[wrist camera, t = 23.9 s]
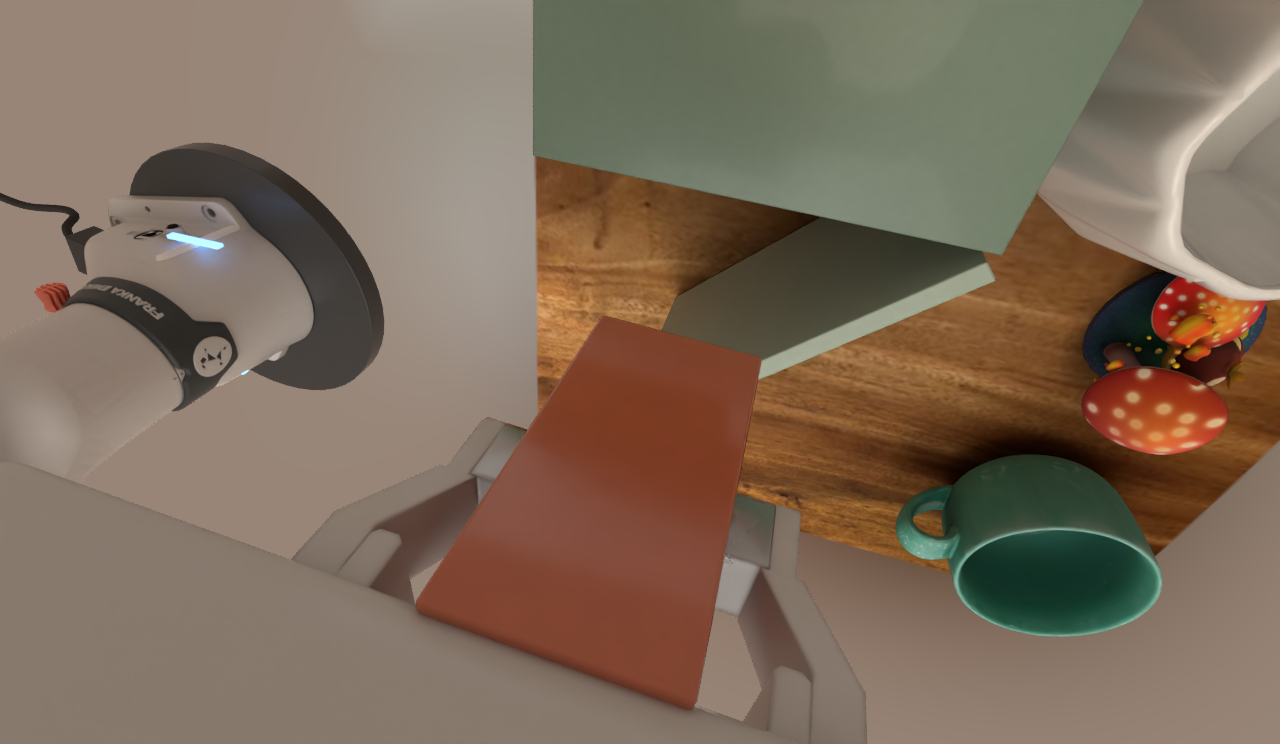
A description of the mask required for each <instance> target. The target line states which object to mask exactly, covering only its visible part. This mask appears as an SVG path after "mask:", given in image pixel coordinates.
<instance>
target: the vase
mask: <svg viewBox="0 0 1280 744" xmlns="http://www.w3.org/2000/svg"><path fill="white" fill-rule="evenodd" d="M1037 193H1038V195H1039V196H1040V197H1041V198H1042V199H1043V200H1044V201H1045V202H1046V203H1047V204H1048V205H1049V206H1050V207H1051V208H1052V209H1053V210H1054V211H1055V212H1056V213H1057V214H1058V215H1059V216H1060V217H1061V218H1062V219H1063V220H1064V221H1065V222H1066V223H1067V224H1068V225H1069V226H1070V227H1071V228H1072V229H1073V230H1074V231H1075V232H1076V233H1077V234H1079V235H1080V236H1082V237H1083V238H1086V239H1088V240H1090V241H1093V242H1095V243H1097V244H1100V245H1102V246H1104V247H1107V248H1109V249H1112V250H1114V251H1117V252H1119V253H1121V254H1124V255H1126V256H1129V257H1131V258H1134V259H1136V260H1139V261H1141V262H1144V263H1146V264H1149V265H1151V266H1154V267H1156V268H1159V269H1161V270H1164V271H1166V272H1169V273H1171V274H1174V275H1177V276H1180V277H1183V278H1185V279H1188V280H1191V281H1193V282H1195V283H1197V284H1199V285H1201V286H1203V287H1204V288H1206V289H1208V290H1210V291H1212V292H1214V293H1217V294H1219V295H1221V296H1224V297H1227V298H1230V299H1235V300H1243V301H1265V300H1278V299H1280V0H1144V2H1143V4H1142V6H1141V7H1140V9H1139V11H1138V13H1137V15H1136V16H1135V18H1134V20H1133V22H1132V23H1131V25H1130V27H1129V29H1128V31H1127V32H1126V34H1125V36H1124V38H1123V40H1122V41H1121V43H1120V45H1119V47H1118V49H1117V50H1116V52H1115V54H1114V56H1113V57H1112V59H1111V61H1110V63H1109V65H1108V66H1107V68H1106V70H1105V72H1104V74H1103V75H1102V77H1101V79H1100V81H1099V83H1098V84H1097V86H1096V88H1095V90H1094V91H1093V93H1092V95H1091V97H1090V99H1089V100H1088V102H1087V104H1086V106H1085V108H1084V109H1083V111H1082V113H1081V115H1080V117H1079V118H1078V120H1077V122H1076V124H1075V125H1074V127H1073V129H1072V131H1071V133H1070V134H1069V136H1068V138H1067V140H1066V142H1065V143H1064V145H1063V147H1062V149H1061V151H1060V152H1059V154H1058V156H1057V158H1056V160H1055V161H1054V163H1053V165H1052V167H1051V168H1050V170H1049V172H1048V174H1047V176H1046V177H1045V179H1044V181H1043V183H1042V185H1041V186H1040V188H1039V190H1038V192H1037Z"/></svg>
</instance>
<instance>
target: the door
mask: <svg viewBox="0 0 1280 744" xmlns="http://www.w3.org/2000/svg"><path fill="white" fill-rule="evenodd" d="M994 281H995V276H994V274H993V272H992V270H991V268H990V266H989V264H988V262H987V260H986V258H985V256H984V254H983V252H982V251H978V250H974V249H969V248H964V247H959V246H955V245H950V244H945V243H941V242H936V241H931V240H927V239H922V238H917V237H913V236H908V235H903V234H899V233H894V232H889V231H885V230H880V229H875V228H871V227H866V226H861V225H857V224H852V223H847V222H842V221H838V220H833V219H828V218H824V217H820V218H818V219H816V220H814V221H813V222H811V223H809V224H807V225H805V226H804V227H802V228H800V229H798V230H796V231H795V232H793V233H791V234H789V235H787V236H786V237H784V238H782V239H780V240H778V241H777V242H775V243H773V244H771V245H769V246H768V247H766V248H764V249H762V250H760V251H759V252H757V253H755V254H753V255H751V256H749V257H748V258H746V259H744V260H742V261H740V262H739V263H737V264H735V265H733V266H731V267H730V268H728V269H726V270H724V271H722V272H721V273H719V274H717V275H715V276H713V277H712V278H710V279H708V280H706V281H704V282H703V283H701V284H699V285H697V286H695V287H694V288H692V289H690V290H688V291H686V292H685V293H683V294H681V295H679V296H677V297H676V299H675V301H674V303H673V305H672V308H671V310H670V312H669V314H668V317H667V319H666V321H665V323H664V326H663V328H662V330H661V331H665V332H668V333H672V334H676V335H680V336H683V337H687V338H691V339H695V340H698V341H702V342H706V343H710V344H713V345H717V346H721V347H725V348H728V349H732V350H736V351H740V352H743V353H747V354H751V355H755V356H758V357H760V358H761V360H762V362H761V368H760V373H759V378H758V380H759V379H762V378H764V377H767V376H769V375H771V374H774V373H776V372H779V371H781V370H783V369H786V368H788V367H791V366H793V365H795V364H798V363H800V362H802V361H805V360H807V359H810V358H812V357H814V356H817V355H819V354H822V353H824V352H826V351H829V350H831V349H834V348H836V347H838V346H841V345H843V344H845V343H848V342H850V341H853V340H855V339H857V338H860V337H862V336H865V335H867V334H869V333H872V332H874V331H877V330H879V329H881V328H884V327H886V326H889V325H891V324H893V323H896V322H898V321H900V320H903V319H905V318H908V317H910V316H912V315H915V314H917V313H920V312H922V311H924V310H927V309H929V308H932V307H934V306H936V305H939V304H941V303H943V302H946V301H948V300H951V299H953V298H955V297H958V296H960V295H963V294H965V293H967V292H970V291H972V290H975V289H977V288H979V287H982V286H984V285H987V284H989V283H991V282H994Z"/></svg>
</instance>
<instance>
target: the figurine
mask: <svg viewBox="0 0 1280 744" xmlns="http://www.w3.org/2000/svg"><path fill="white" fill-rule="evenodd" d="M1265 304H1266V300H1265V301H1243V300H1235V299H1230V298H1227V297H1224V296H1221V295H1219V294H1217V293H1214V292H1212V291H1210V290H1208V289H1206V288H1204V287H1203V286H1201V285H1199V284H1197V283H1195V282H1193V281H1191V280H1188V279H1185V278H1183V277H1180V276H1177V275H1174V274H1171V273H1169V272H1163V273H1158V274H1154V275H1151V276H1149V277H1147V278H1144V279H1142V280H1140V281H1138V282H1136V283H1134V284H1132V285H1131V286H1129V287H1127V288H1126V289H1124V290H1122V291H1121V292H1120V293H1118V294H1117V295H1116V296H1115V297H1113V298H1112V299H1111V300H1109V301H1108V302H1107V303H1106V304H1105V305H1104V307H1103V308H1102V309H1101V310H1100V311H1099V312H1098V313H1097V314H1096V316H1095V317H1094V319H1093V320H1092V322H1091V323H1090V325H1089V327H1088V329H1087V331H1086V334H1085V337H1084V342H1083V356H1084V358H1085V360H1086V361H1087V363H1088V364H1089V366H1090V368H1091V369H1092V370H1093V371H1095V372H1096V373H1097V374H1098V375H1099V376H1100V377H1101V378H1100V379H1099V378H1095V379H1094V380H1093V382H1094V383H1093V384H1092V385H1091V386H1090V387H1089V388H1088V389H1087V391H1086V393H1085V395H1084V396H1083V400H1082V404H1081V405H1082V411H1083V414H1084V416H1085V418H1086V420H1087V421H1088V422H1089V424H1090V425H1091V426H1092V427H1093V428H1094V429H1095V430H1097V431H1098V432H1099V433H1101V434H1102V435H1103V436H1105V437H1106V438H1108V439H1110V440H1111V441H1113V442H1115V443H1117V444H1120V445H1122V446H1124V447H1126V448H1129V449H1133V450H1136V451H1139V452H1144V453H1149V454H1175V453H1180V452H1185V451H1188V450H1192V449H1195V448H1197V447H1199V446H1201V445H1203V444H1205V443H1208V442H1209V441H1210V440H1212V439H1213V438H1215V437H1216V436H1217V435H1218V434H1219V433H1220V432H1221V431H1222V430H1223V428H1224V427H1225V425H1226V422H1227V420H1228V408H1227V406H1226V404H1225V401H1224V400H1223V399H1222V397H1221V396H1220V395H1219V394H1218V393H1217V392H1216V391H1215V390H1213V389H1212V388H1211V386H1214V385H1217V384H1219V383H1221V382H1223V381H1225V380H1226V379H1227V386H1228V389H1229V390H1230V379H1231V380H1232V381H1235V382H1240V381H1244V380H1245V377H1244V375H1243V374H1242V373H1240V372H1235V371H1237V370H1238V369H1239V368H1240V366H1241V365H1242V363H1243V361H1241V362H1240V360H1241V357H1242V356H1243V355H1244V354H1245V352H1246V351H1247V350H1248V349H1249V348H1250V347H1251V346H1252V345H1253V344H1254V342H1255V341H1256V339H1257V338H1258V336H1259V335H1260V333H1261V331H1262V328H1263V326H1264V323H1265V320H1266V311H1267V307H1266V305H1265Z"/></svg>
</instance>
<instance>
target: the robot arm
mask: <svg viewBox="0 0 1280 744" xmlns="http://www.w3.org/2000/svg"><path fill="white" fill-rule="evenodd" d="M0 201H3V202H5V203H8V204H11V205H13V206H16V207H20V208H23V209H28V210H35V211H47V212H62V213H66V214H69V215H70V216H69V217H68V219H66V221H65V222H64V223H63V225H62V232H63V234H64V236H65V238H66V240H67V243H68V245H69V248H70V250H71V253H72V255H73V258H74V260H75V263H76V265H77V268H78V270H79V271H80V272H82V273H84V274H87V276H88V283H87V284H86V285H85V286H84V287H82V288H81V289H80V290H79V291H78V292H76V293H75V294H74V295H73V296H72V297H70V295H69V291H68V289H67V287H66V285H65V284H62V283H53V284H46V286H44V285H42V286H41V287H40V288H37V289H36V290H37V291H35V294H36V295H37V296H38V298H39V299H40V300H41V301H42V302H43V303H44V307H45V309H46V310H47V311H49V312H54V313H52V314H50V315H48V316H45V317H43V318H41V319H39V320H37V321H35V322H33V323H30V324H28V325H26V326H24V327H22V328H20V329H18V330H16V331H13V332H11V333H9V334H7V335H5V336H3V337H0V744H867V725H866V694H865V691H864V689H863V687H862V686H861V684H860V682H859V680H858V678H857V677H856V675H855V673H854V671H853V669H852V667H851V666H850V664H849V662H848V660H847V658H846V657H845V655H844V653H843V651H842V649H841V648H840V646H839V644H838V642H837V640H836V639H835V637H834V635H833V633H832V631H831V629H830V628H829V626H828V624H827V622H826V620H825V619H824V617H823V615H822V613H821V611H820V610H819V608H818V606H817V604H816V602H815V601H814V599H813V597H812V595H811V593H810V592H809V590H808V588H807V586H806V584H805V583H804V581H802V580H799V579H797V565H798V564H797V563H798V550H799V549H798V548H799V534H800V520H801V515H800V513H799V511H796V510H793V509H789V508H786V507H782V506H779V505H774V504H773V503H770V502H766V501H763V500H759V499H756V498H752V497H749V496H746V495H742V494H739V493H737V494H736V499H735V505H734V510H733V515H732V520H731V526H730V531H729V536H728V541H727V547H726V552H725V557H724V562H723V568H722V573H721V578H720V584H719V589H718V594H717V599H716V605H715V610H719V611H721V612H724V613H727V614H729V615H732V616H735V617H738V622H739V625H740V628H741V631H742V634H743V637H744V639H745V642H746V645H747V648H748V651H749V654H750V656H751V659H752V662H753V665H754V668H755V671H756V674H757V676H758V679H759V682H760V685H761V688H762V691H761V693H760V694H759V696H758V698H757V699H756V701H755V702H754V704H753V706H752V708H751V709H750V711H749V712H748V714H747V716H746V717H745V719H744V721H743V722H742V721H739V720H736V719H733V718H730V717H728V716H725V715H722V714H720V713H717V712H714V711H711V710H708V709H706V708H703V707H700V706H697V705H695V707H694V708H693V709H692V710H687V709H684V708H681V707H678V706H675V705H673V704H670V703H667V702H664V701H662V700H659V699H656V698H653V697H650V696H648V695H645V694H642V693H639V692H637V691H634V690H631V689H628V688H625V687H623V686H620V685H617V684H614V683H611V682H609V681H606V680H603V679H600V678H598V677H595V676H592V675H589V674H586V673H584V672H581V671H578V670H575V669H573V668H570V667H567V666H564V665H561V664H559V663H556V662H553V661H550V660H547V659H545V658H542V657H539V656H536V655H534V654H531V653H528V652H525V651H522V650H520V649H517V648H514V647H511V646H509V645H506V644H503V643H500V642H497V641H495V640H492V639H489V638H486V637H483V636H481V635H478V634H475V633H472V632H470V631H467V630H464V629H461V628H458V627H456V626H453V625H450V624H447V623H444V622H442V621H439V620H436V619H433V618H431V617H428V616H425V615H422V614H420V613H418V612H417V610H416V604H415V602H414V597H413V593H412V588H411V583H410V579H412V578H413V577H415V576H416V575H418V574H419V573H421V572H422V571H424V570H425V569H427V568H429V567H430V566H432V565H433V564H434V563H436V562H438V561H439V560H441V559H442V558H444V557H445V556H446V554H447V553H448V551H449V550H450V548H451V547H452V545H453V543H454V542H455V540H456V539H457V537H458V536H459V534H460V533H461V531H462V530H463V528H464V527H465V525H466V524H467V522H468V520H469V519H470V517H471V516H472V514H473V513H474V511H475V510H476V508H477V507H478V505H479V504H480V502H481V501H482V499H483V497H484V496H485V494H486V493H487V491H488V490H489V488H490V487H491V485H492V484H493V482H494V481H495V479H496V477H497V476H498V474H499V473H500V471H501V470H502V468H503V467H504V465H505V464H506V462H507V461H508V459H509V458H510V456H511V454H512V453H513V451H514V450H515V448H516V447H517V445H518V444H519V442H520V441H521V439H522V438H523V436H524V434H525V433H526V431H527V429H524V428H521V427H517V426H515V425H511V424H507V423H504V422H501V421H498V420H495V419H492V418H489V417H487V418H485V419H484V420H482V421H481V422H480V423H479V425H478V426H477V427H476V429H475V430H474V431H473V433H472V434H471V435H470V436H469V438H468V439H467V441H466V442H465V443H464V444H463V446H462V447H461V448H460V450H459V451H458V452H457V453H456V455H455V456H454V457H453V459H452V460H451V461H450V462H449V464H448V465H447V466H446V467H445V466H442V465H439V466H436V467H434V468H432V469H430V470H427V471H425V472H423V473H420V474H418V475H416V476H414V477H411V478H409V479H407V480H405V481H402V482H400V483H398V484H395V485H393V486H391V487H388V488H386V489H384V490H382V491H379V492H377V493H375V494H373V495H370V496H368V497H366V498H364V499H361V500H359V501H357V502H354V503H352V504H350V505H347V506H345V507H343V508H341V509H338V510H336V511H335V512H334V513H333V514H332V515H331V516H330V517H329V518H328V519H327V520H326V521H325V523H324V524H323V525H322V526H321V527H320V528H319V529H318V530H317V531H316V532H315V534H313V536H312V537H311V538H310V539H309V540H308V541H307V542H306V543H305V544H304V545H303V547H302V548H301V549H300V550H299V551H298V552H297V553H296V555H295V556H293V558H292V559H291V560H290V559H287V558H285V557H282V556H279V555H276V554H273V553H270V552H268V551H265V550H262V549H259V548H257V547H254V546H251V545H248V544H246V543H243V542H240V541H237V540H235V539H232V538H229V537H226V536H223V535H221V534H218V533H215V532H212V531H210V530H207V529H204V528H201V527H198V526H195V525H193V524H190V523H187V522H184V521H182V520H179V519H176V518H173V517H171V516H168V515H165V514H162V513H160V512H156V511H154V510H151V509H148V508H146V507H143V506H140V505H137V504H134V503H132V502H129V501H126V500H123V499H121V498H118V497H115V496H112V495H110V494H107V493H104V492H101V491H98V490H96V489H93V488H90V487H87V486H84V485H82V484H81V483H82V482H83V481H84V480H85V479H86V477H87V476H88V475H89V474H90V473H92V472H93V470H95V469H96V468H97V467H98V466H99V465H100V464H101V463H102V462H104V461H105V460H106V459H107V458H109V457H110V456H111V455H113V454H114V453H115V452H116V451H118V450H119V449H120V448H121V447H123V446H124V445H125V444H127V443H128V442H129V441H131V440H132V439H133V438H135V437H136V436H137V435H139V434H140V433H141V432H143V431H144V430H146V429H147V428H148V427H150V426H151V425H152V424H154V423H155V422H156V421H158V420H159V419H161V418H162V417H163V416H165V415H166V414H168V413H169V412H170V411H178V410H181V409H183V408H185V407H186V406H188V405H189V404H191V403H192V402H193V403H194V402H196V401H197V400H199V399H201V398H202V396H203V395H204V394H206V393H207V392H209V391H210V390H211V389H213V388H214V387H215V386H220V385H223V384H225V383H227V382H228V381H230V380H232V379H234V378H236V377H237V376H239V375H241V374H245V373H246V372H248V370H250V369H251V368H253V367H255V366H256V365H258V364H260V363H262V362H263V361H265V360H267V359H268V360H272V361H275V360H277V359H279V358H281V357H283V356H284V355H285V354H286V352H287V350H288V348H289V346H290V345H292V344H294V343H296V342H298V341H300V340H302V339H304V338H305V337H306V336H307V335H308V334H309V332H310V331H311V329H312V326H313V321H314V311H313V305H312V301H311V298H310V295H309V292H308V290H307V288H306V286H305V284H304V282H303V280H302V278H301V277H300V275H299V274H298V272H297V271H296V269H295V268H294V267H293V265H292V264H291V263H290V262H289V260H288V259H287V258H286V257H285V256H284V255H283V254H282V253H281V252H280V251H279V250H278V249H277V248H276V247H275V246H274V245H273V244H272V243H271V242H269V241H268V240H267V239H266V238H264V237H263V236H262V235H261V234H259V233H258V232H257V231H256V230H255V229H254V228H252V227H251V226H250V224H249V223H248V222H247V220H246V219H245V218H244V217H243V215H242V214H241V213H240V212H239V211H238V209H237V208H236V207H235V206H234V205H233V204H232V203H231V202H230V201H228V200H226V199H224V198H219V197H179V196H138V195H119V196H116V197H114V198H112V199H110V201H109V209H108V211H109V219H110V224H111V228H109V229H107V230H105V231H104V230H102V229H100V228H97V227H95V226H93V227H90V228H87V229H85V230H82V231H79V232H77V233H74V234H73V232H72V227H73V225H74V224H75V223H76V222H77V221H78V220H79V214H78V213H77V212H76V211H75V210H74V209H72V208H69V207H66V206H59V205H43V204H31V203H27V202H23V201H19V200H17V199H14V198H11V197H9V196H6V195H4V194H2V193H0Z"/></svg>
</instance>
